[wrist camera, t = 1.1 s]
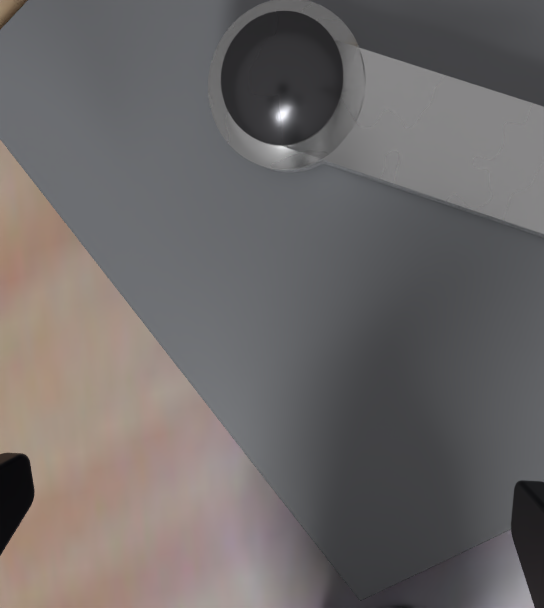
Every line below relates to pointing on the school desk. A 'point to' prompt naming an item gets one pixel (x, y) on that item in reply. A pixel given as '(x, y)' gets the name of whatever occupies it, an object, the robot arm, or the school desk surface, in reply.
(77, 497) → the school desk surface
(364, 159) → the link
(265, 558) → the school desk surface
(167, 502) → the school desk surface
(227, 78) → the glossy black ball
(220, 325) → the base plate
